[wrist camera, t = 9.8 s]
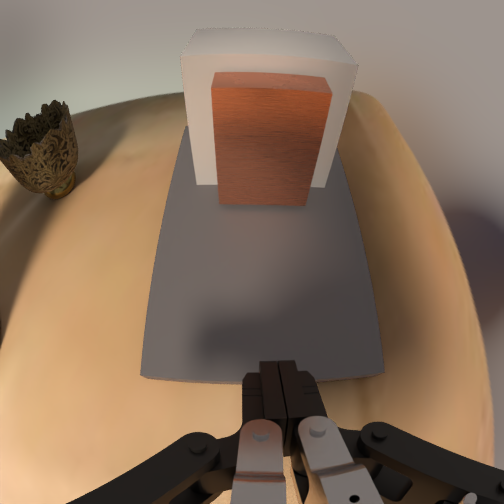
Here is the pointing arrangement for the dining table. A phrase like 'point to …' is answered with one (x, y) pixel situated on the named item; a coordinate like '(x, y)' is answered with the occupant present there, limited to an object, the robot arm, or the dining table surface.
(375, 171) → the dining table surface
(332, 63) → the peg hole fixture
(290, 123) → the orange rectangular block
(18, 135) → the cup
